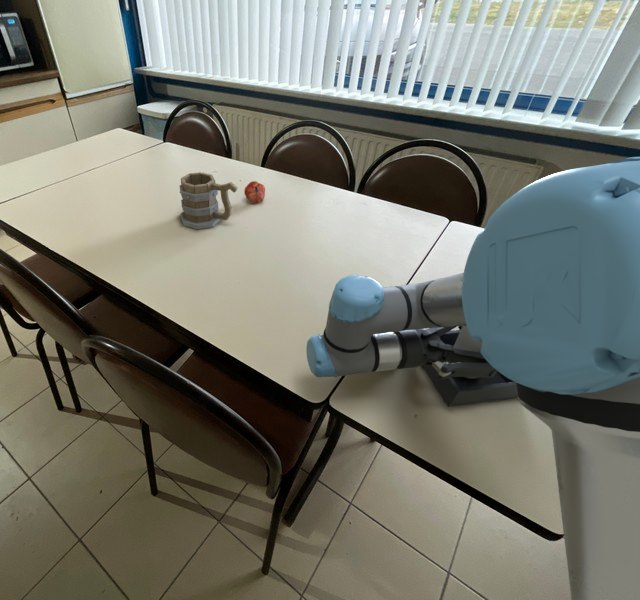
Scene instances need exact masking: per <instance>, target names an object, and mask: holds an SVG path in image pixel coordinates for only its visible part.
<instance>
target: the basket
mask: <svg viewBox="0 0 640 600" xmlns="http://www.w3.org/2000/svg"><path fill="white" fill-rule="evenodd" d="M460 331H461V330H460V329H452V330H450V331H449V332H447V333H445V334H443V335H442V336H440V340H441V341H442V342H443V343H444V344H446V345H451V346H453V347H454V345H455V343H456V340H457V338H458V336H459V333H460ZM445 352H446V351H445ZM444 354H445V353H444ZM441 363H444V362H441ZM422 367H423V368H424V370H425V372H426V373H427V375H428V377H429V378H430V380H431V381H432V383H433V384H434V386H435V387H436V389H437V390H438V392H439V393H440V395H441V396H442V398H443V401H445V403H446V404H447V406H448V407H456V406H462V405H464V406H465V405H472V404H479V403H480V404H481V403H488V402H495V401H496V402H497V401H504V400H511V399H518V393H517V385H516V382H514V381H512V380H511V379H509V378H507V377H506V376H504V375H503V374H501V373H500V372H498V371H497V372H496V373H495V375H494V376H493V377H480V378H476V379H470V378H466V377H448V378H445V379H440V378H438V377H437V374H438V371H437V370H436V369H435V368H434V367H433V366H428V365H422Z"/></svg>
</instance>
